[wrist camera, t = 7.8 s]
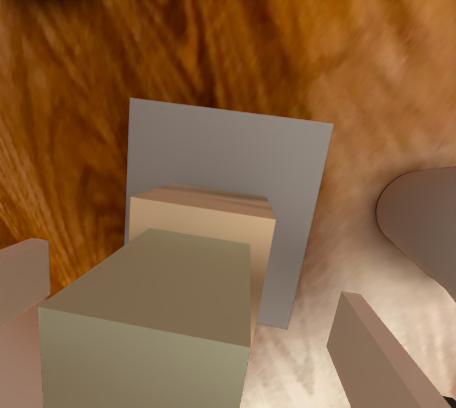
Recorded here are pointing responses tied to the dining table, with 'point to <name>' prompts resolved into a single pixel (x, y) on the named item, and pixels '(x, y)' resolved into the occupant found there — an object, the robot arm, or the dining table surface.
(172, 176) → the board
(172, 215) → the base block
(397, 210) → the cup
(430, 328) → the dining table surface
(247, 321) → the sage block
